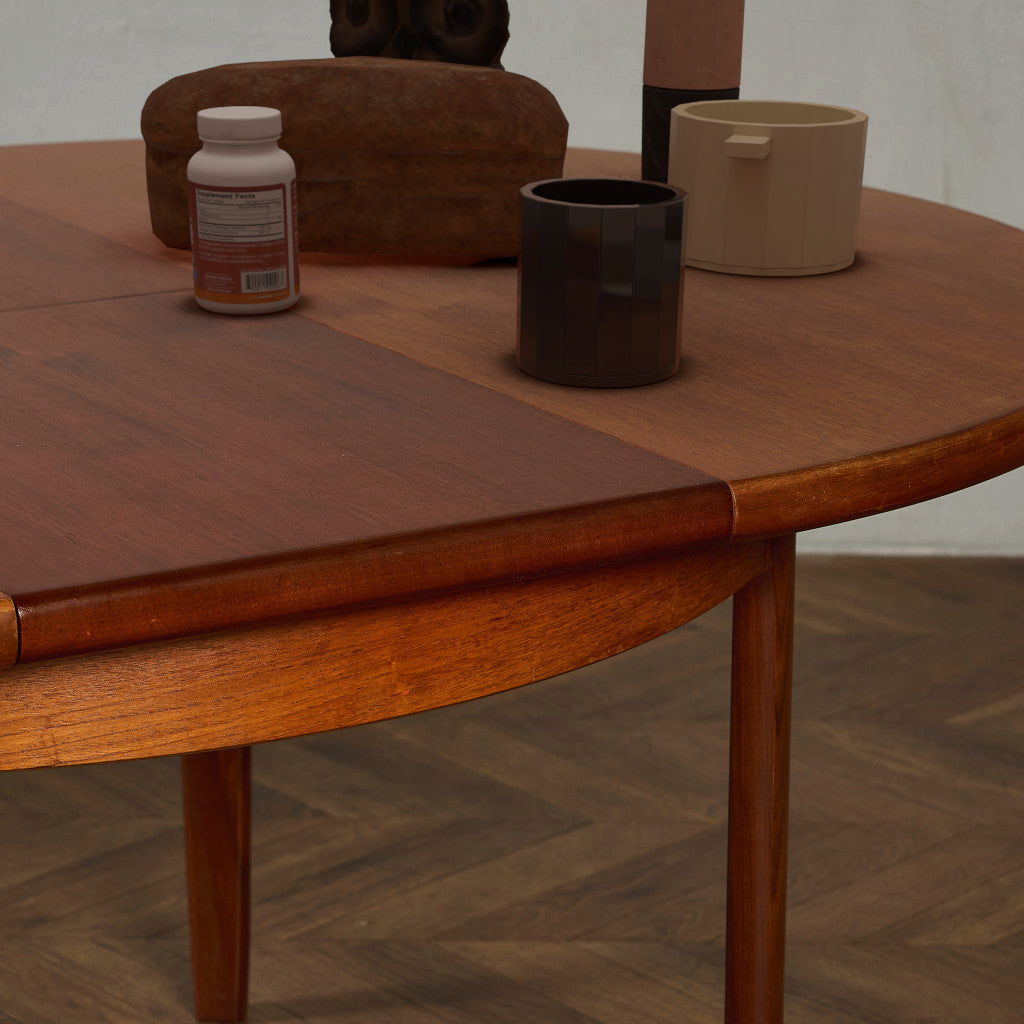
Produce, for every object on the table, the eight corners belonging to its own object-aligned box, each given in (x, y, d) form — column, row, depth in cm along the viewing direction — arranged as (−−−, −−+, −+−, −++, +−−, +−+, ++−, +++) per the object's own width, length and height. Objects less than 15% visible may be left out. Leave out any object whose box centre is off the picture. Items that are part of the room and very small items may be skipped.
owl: (525, 196, 129) (530, -72, 122) (380, 209, 123) (375, -72, 116) (453, 172, 139) (454, -77, 132) (316, 182, 134) (308, -77, 126)
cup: (708, 362, 86) (719, 190, 83) (618, 398, 80) (625, 214, 76) (579, 334, 91) (584, 171, 87) (484, 366, 84) (486, 192, 81)
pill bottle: (230, 287, 100) (221, 101, 96) (319, 297, 98) (314, 108, 93) (173, 309, 94) (161, 114, 90) (266, 321, 92) (258, 121, 88)
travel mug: (639, 202, 128) (651, -69, 121) (636, 184, 135) (647, -72, 128) (737, 204, 128) (755, -67, 120) (728, 186, 135) (745, -70, 128)
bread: (172, 223, 118) (161, 47, 113) (563, 229, 118) (567, 53, 113) (129, 265, 105) (115, 69, 100) (568, 272, 105) (573, 76, 100)
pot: (868, 236, 117) (881, 101, 113) (835, 292, 101) (849, 136, 97) (695, 223, 120) (702, 91, 117) (637, 275, 104) (643, 124, 101)
